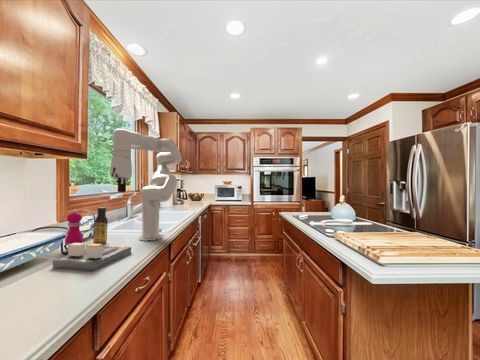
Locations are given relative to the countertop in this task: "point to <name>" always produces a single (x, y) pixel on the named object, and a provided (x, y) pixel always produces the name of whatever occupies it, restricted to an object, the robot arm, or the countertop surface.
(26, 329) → the countertop surface
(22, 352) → the countertop surface
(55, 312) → the countertop surface
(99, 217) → the sauce bottle
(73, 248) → the on switch
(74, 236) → the pepper mill
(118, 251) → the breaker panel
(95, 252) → the switch
